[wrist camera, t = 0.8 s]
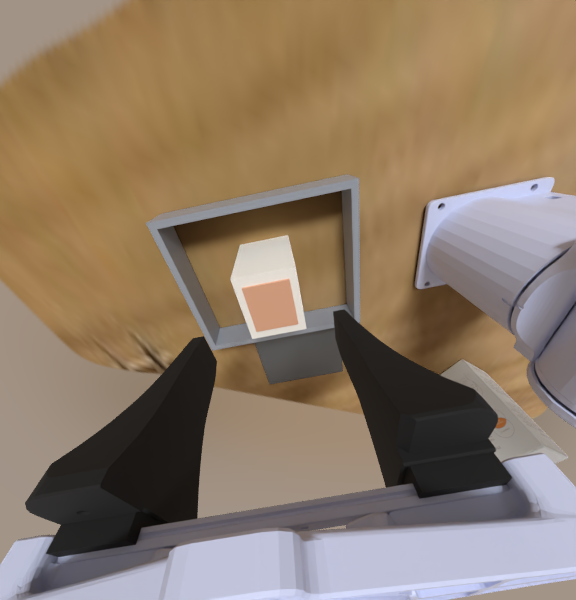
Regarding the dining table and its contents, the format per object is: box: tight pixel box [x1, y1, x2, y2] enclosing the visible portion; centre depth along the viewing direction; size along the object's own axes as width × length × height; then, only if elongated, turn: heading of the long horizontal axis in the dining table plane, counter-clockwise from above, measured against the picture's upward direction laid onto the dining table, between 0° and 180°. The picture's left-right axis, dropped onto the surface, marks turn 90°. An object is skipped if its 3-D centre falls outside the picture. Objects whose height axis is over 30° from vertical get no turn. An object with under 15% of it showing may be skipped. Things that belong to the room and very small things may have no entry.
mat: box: [255, 328, 343, 384], centre depth 26 cm, size 9×8×1 cm
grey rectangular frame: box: [146, 174, 360, 351], centre depth 19 cm, size 14×12×2 cm
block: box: [231, 235, 307, 339], centre depth 18 cm, size 4×5×6 cm
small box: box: [440, 359, 568, 464], centre depth 27 cm, size 8×6×10 cm
